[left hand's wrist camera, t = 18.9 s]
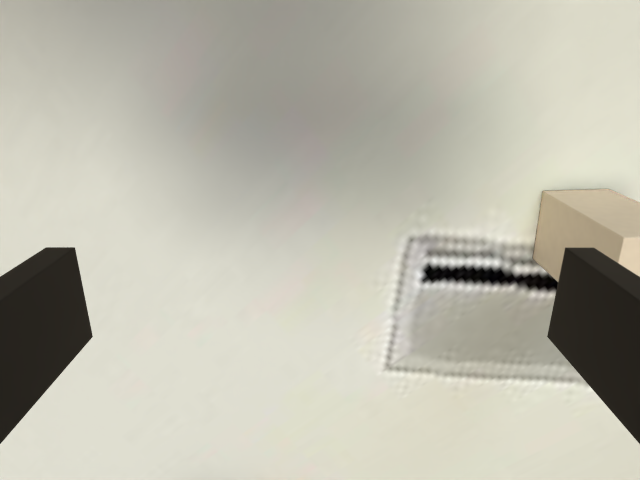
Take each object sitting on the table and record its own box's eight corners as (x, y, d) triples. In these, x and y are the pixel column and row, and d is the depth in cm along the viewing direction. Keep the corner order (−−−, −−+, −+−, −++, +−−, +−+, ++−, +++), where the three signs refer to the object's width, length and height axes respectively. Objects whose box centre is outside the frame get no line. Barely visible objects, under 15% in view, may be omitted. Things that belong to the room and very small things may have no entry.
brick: (542, 190, 32) (624, 237, 23) (608, 188, 32) (715, 234, 23) (532, 258, 34) (604, 325, 25) (594, 256, 34) (688, 322, 25)
